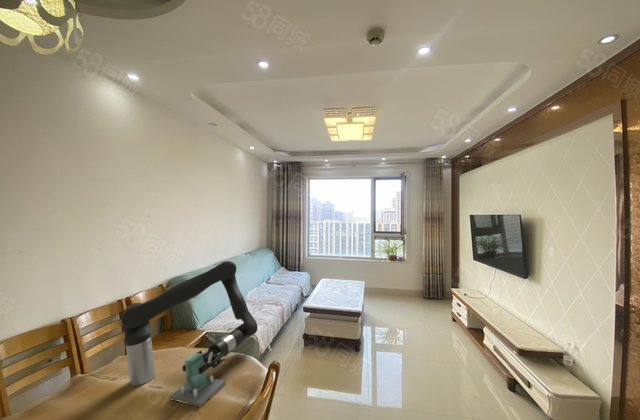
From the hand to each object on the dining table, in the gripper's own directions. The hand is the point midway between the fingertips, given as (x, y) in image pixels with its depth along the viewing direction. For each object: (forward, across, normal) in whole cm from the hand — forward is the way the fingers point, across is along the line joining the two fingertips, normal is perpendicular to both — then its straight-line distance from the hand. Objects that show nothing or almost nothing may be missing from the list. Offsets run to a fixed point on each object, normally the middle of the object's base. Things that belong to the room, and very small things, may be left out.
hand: (191, 370), depth 96 cm
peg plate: (-2, 0, +10) cm, 10 cm away
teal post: (-2, 0, +8) cm, 8 cm away
